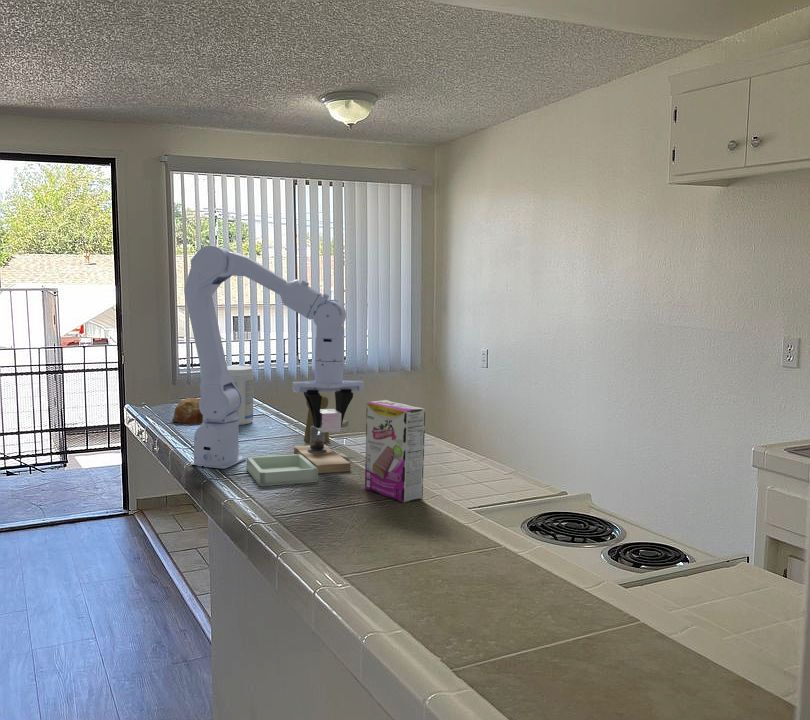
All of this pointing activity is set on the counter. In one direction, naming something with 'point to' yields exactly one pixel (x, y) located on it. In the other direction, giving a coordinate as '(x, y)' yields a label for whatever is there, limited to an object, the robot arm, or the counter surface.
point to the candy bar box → (395, 450)
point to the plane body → (324, 459)
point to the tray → (281, 469)
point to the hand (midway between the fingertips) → (327, 426)
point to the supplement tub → (244, 391)
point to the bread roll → (188, 411)
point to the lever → (319, 437)
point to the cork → (310, 420)
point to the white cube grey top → (330, 420)
